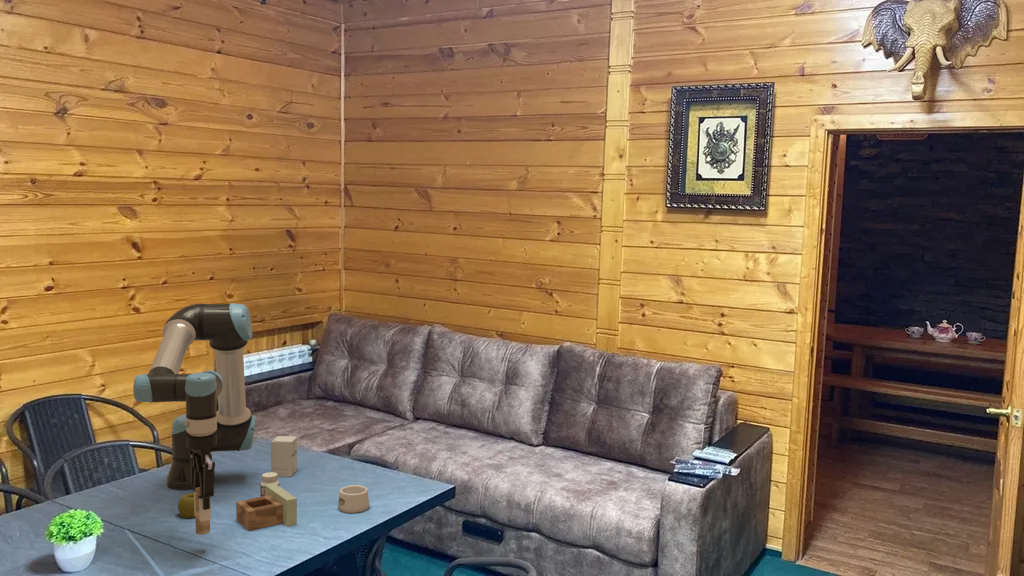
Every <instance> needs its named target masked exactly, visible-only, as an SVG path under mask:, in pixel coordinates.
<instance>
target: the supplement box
mask: <svg viewBox="0 0 1024 576" xmlns="http://www.w3.org/2000/svg"><path fill="white" fill-rule="evenodd" d="M270 443H271V444H270V446H271V447H270V448H271V449H270V450H271V451H270V452H271V453H270V455H271V457H270V459H271V460H270V472H274V473H277V474H278V478H279V477H280V478H283V477H284V478H292V477H293V475H294V474H295V473H296V472H297V471H298V436H295V435H293V436H292V435H289V436H288V435H280V436H279V435H277V436H276V437H274V438H273V440H272V441H270Z"/></svg>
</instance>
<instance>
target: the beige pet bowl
mask: <svg viewBox="0 0 1024 576" xmlns="http://www.w3.org/2000/svg"><path fill="white" fill-rule="evenodd" d="M337 501H338V502H337V508H338V510H339V511H340V512H342V513H346V514H357V513H358V514H359V513H362V512H365V511H366V510H368V508H369V507H370V498H369V489H368V488H367V487H366V486H364V485H358V484H356V485H355V484H353V485H347V486H343V487H341V488H340V489H339V493H338V500H337Z"/></svg>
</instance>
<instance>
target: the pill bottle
mask: <svg viewBox="0 0 1024 576" xmlns="http://www.w3.org/2000/svg"><path fill="white" fill-rule="evenodd" d="M261 478H262V481H261V482H260V484H259V485H260V492H259V493H260V495H259V497H262V496H265V485H268V484H273V483H275V484H277V485H278V486H279V487H280V481H279V479H278V478H279V477H278V474H277V473H274V472H271V471H270V472H268V471H267V472H264V473H263V474H261Z"/></svg>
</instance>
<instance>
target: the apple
mask: <svg viewBox="0 0 1024 576" xmlns="http://www.w3.org/2000/svg"><path fill="white" fill-rule="evenodd" d="M177 509H178V514H179V515H180V517H181V518H183V519H194V518H195V516H194V492H192V493H191V492H190V493H186V494H184V495H182V496H181V497H180V498H179V500H178V503H177Z"/></svg>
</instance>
